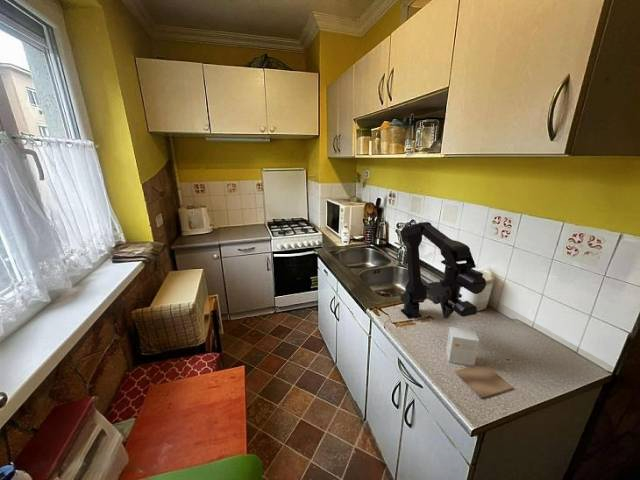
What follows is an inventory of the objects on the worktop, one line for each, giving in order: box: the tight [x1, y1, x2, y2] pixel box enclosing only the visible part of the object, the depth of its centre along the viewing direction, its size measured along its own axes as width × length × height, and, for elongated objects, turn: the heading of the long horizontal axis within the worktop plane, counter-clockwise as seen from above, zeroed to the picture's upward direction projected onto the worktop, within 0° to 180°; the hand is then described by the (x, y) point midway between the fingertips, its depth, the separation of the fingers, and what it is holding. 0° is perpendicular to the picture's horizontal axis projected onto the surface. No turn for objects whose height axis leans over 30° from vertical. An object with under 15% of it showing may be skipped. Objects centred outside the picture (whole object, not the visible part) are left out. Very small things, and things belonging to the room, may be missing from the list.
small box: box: [445, 326, 480, 367], centre depth 87 cm, size 8×6×10 cm
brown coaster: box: [454, 362, 514, 400], centre depth 80 cm, size 10×12×1 cm
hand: (445, 318), depth 93 cm, fingers closed
